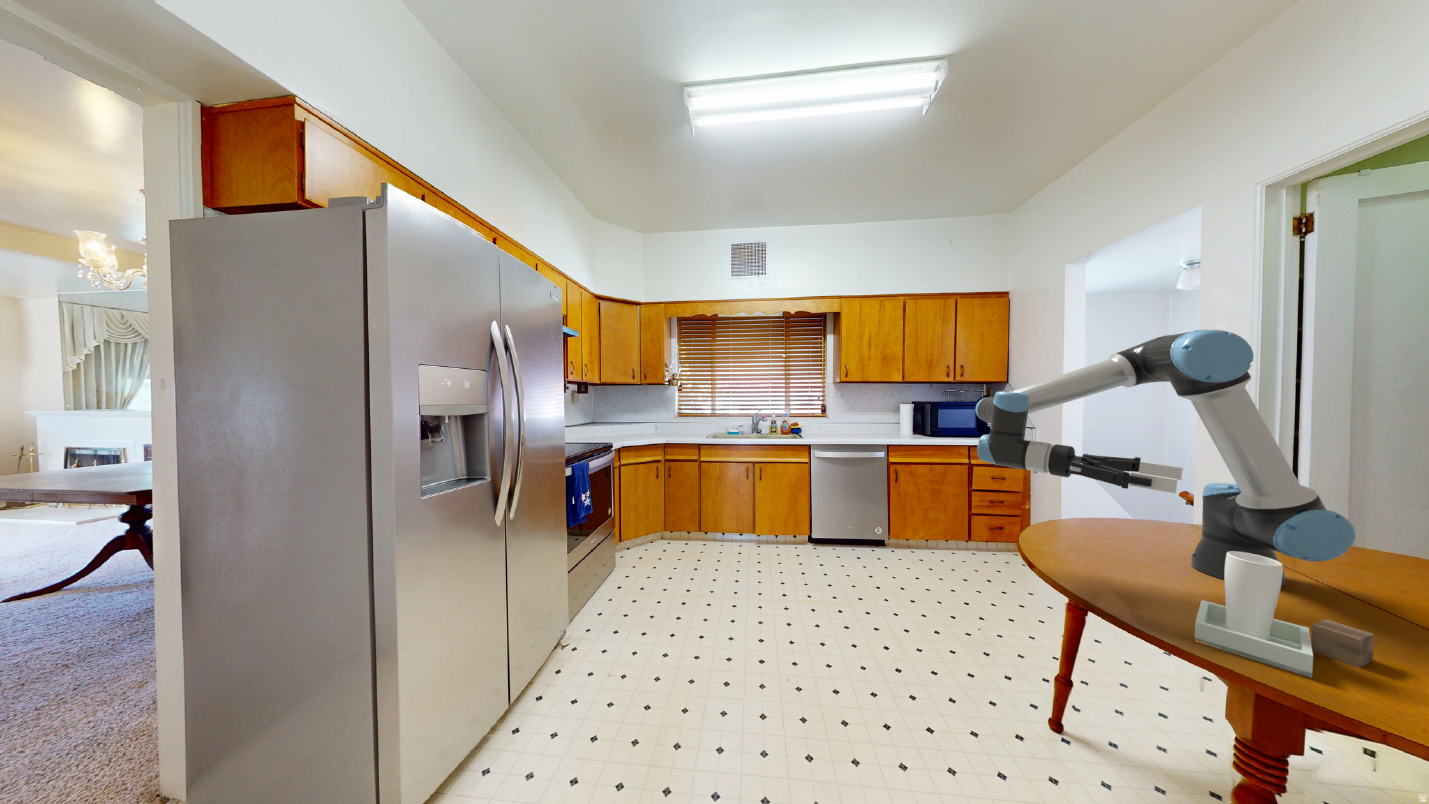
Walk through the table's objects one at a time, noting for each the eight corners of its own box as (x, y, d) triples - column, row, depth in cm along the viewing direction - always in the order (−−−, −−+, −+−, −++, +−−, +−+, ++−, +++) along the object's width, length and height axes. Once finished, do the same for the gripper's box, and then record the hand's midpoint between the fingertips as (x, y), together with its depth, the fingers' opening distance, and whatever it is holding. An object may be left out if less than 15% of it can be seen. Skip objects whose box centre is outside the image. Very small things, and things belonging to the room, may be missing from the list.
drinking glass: (1283, 650, 77) (1291, 569, 76) (1226, 635, 81) (1233, 559, 80) (1266, 632, 82) (1273, 556, 81) (1213, 620, 86) (1220, 547, 85)
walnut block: (1324, 645, 79) (1326, 619, 79) (1372, 661, 74) (1373, 634, 74) (1311, 650, 78) (1312, 624, 77) (1358, 668, 73) (1360, 639, 73)
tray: (1201, 617, 89) (1201, 600, 89) (1307, 647, 78) (1308, 627, 78) (1194, 641, 81) (1195, 621, 81) (1312, 678, 71) (1313, 656, 70)
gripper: (1062, 465, 112) (1181, 485, 95) (1034, 483, 96) (1171, 511, 80) (1065, 437, 111) (1186, 452, 95) (1037, 451, 95) (1176, 473, 79)
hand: (1179, 479), depth 87 cm, fingers open, 13 cm apart
